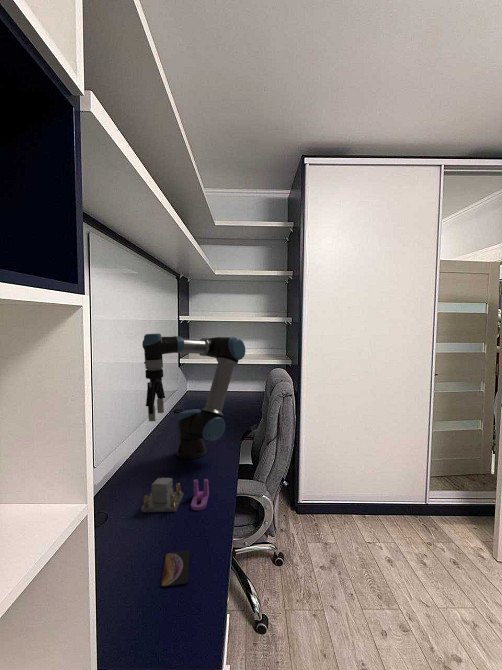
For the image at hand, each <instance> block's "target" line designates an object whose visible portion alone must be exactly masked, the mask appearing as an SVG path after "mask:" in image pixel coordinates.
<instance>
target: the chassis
mask: <svg viewBox="0 0 502 670" xmlns="http://www.w3.org/2000/svg"><path fill="white" fill-rule="evenodd" d="M152 484H153V483H151V486H152ZM175 488H176V491H173V494H172V495H170V500H169V501H168V503H156V502H153V493H152V491H151V492H150V494H149V495H148V494H144V495H143V505H142V506H141V508H140V511H141V513H167V512H170V513H171V512H177V510H178V508H179V505H180V504H181V501H182V499H183V497H184V491H182V490H181V483H180V482H176V483H175Z"/></svg>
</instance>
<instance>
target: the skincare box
mask: <svg viewBox="0 0 502 670" xmlns="http://www.w3.org/2000/svg"><path fill="white" fill-rule="evenodd" d="M151 484H152V485H151V492H152V493H153V502H156V503H168V501H169V500H170V495H172V494H173V492H174V485H173V478H172V477H158V478H157V479H156V480H154V482H152V483H151Z"/></svg>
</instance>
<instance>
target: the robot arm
mask: <svg viewBox="0 0 502 670" xmlns="http://www.w3.org/2000/svg"><path fill="white" fill-rule="evenodd" d="M142 349H143V351H144V362H143V364H144V366H145V367H144V368H145V379H148V380H149V382H147V385H146V387H147V389H146V390H147V391H146V401H145V402H146V403H145V407H147V410H148V411H147V413H148V422H156V408H157V414H164V413H165V408H164V407H165V406H164V399H166V396H165V390H164V387H163V386H164V385H163V378H164V369H163V368H164V366H163V365H164V363H163V361H164V360H163V359H164V358H163V355H169V354H191V355H193V354H194V355H195V354H196V355H198V354H199V356H202V357H209V358H215V361H217V364H216V368H215V372H214V376H213V379H212V382H211V386H210V389H209V393H208V397H207V400H206V403H205V407H203V408H202V409H199V408H197V409H196V408H195V409H194V408H193V409H187V410H184V411H181V412H179V413H178V419H177V421H178V435H179V441H178V446H177V450H176V456H178V457H177V458H179V459H183V460H194V459H199V458H201V457H203V456H205V455H206V454H207V447H206V446H205V443H204V440H206V441H217V440H218V439H221V437H222V436H223V434H224V433H225V430H226V421H225V420H224V414H223V412H222V411H223V407H224V404H225V401H226V398H227V397H226V396H227V393H228V389H229V385H230V383H231V382H230V381H231V379H232V374H233V371H234V368H235V367H236V366H238V365H239V361H241V360H242V359H244V358H245V355H246V346H245V343H244V341H243V340H242V339H241V338H239V337H235V336H231V337H229V336H226V337H225V336H223V337H221V336H218V337H207V338H206V337H202V338H200V339H197V338H196V339H194V338H184V337H182V336H180V335H179V336H178V335H177V336H176V335H174V336H162V334H161V333H146V334H144V336H143V340H142ZM156 397H157V399H156ZM155 400H156V405H157V407H156V406H155Z"/></svg>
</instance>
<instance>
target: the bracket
mask: <svg viewBox="0 0 502 670" xmlns="http://www.w3.org/2000/svg"><path fill="white" fill-rule="evenodd" d="M192 483H193V496H192V500H191V503H190V509H191V510H192V511H203V510H204V509H205V508H206V507H207V504H208V499H209V495H210V487H209V485H210V483H209V479H208V478H204V479H203V490H201V491H200V490H199V479H193V482H192ZM199 502H200V504H198V503H199Z"/></svg>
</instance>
